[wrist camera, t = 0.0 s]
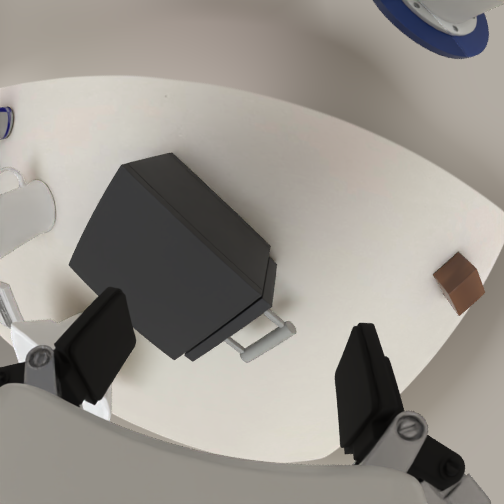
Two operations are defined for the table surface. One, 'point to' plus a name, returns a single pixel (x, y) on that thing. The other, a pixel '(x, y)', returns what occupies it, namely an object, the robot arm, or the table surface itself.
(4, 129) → the beverage can
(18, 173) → the mug
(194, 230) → the dark drawer cabinet
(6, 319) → the book
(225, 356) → the table surface
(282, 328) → the pull-out drawer
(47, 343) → the bowl
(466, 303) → the block
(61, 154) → the table surface
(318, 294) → the table surface
